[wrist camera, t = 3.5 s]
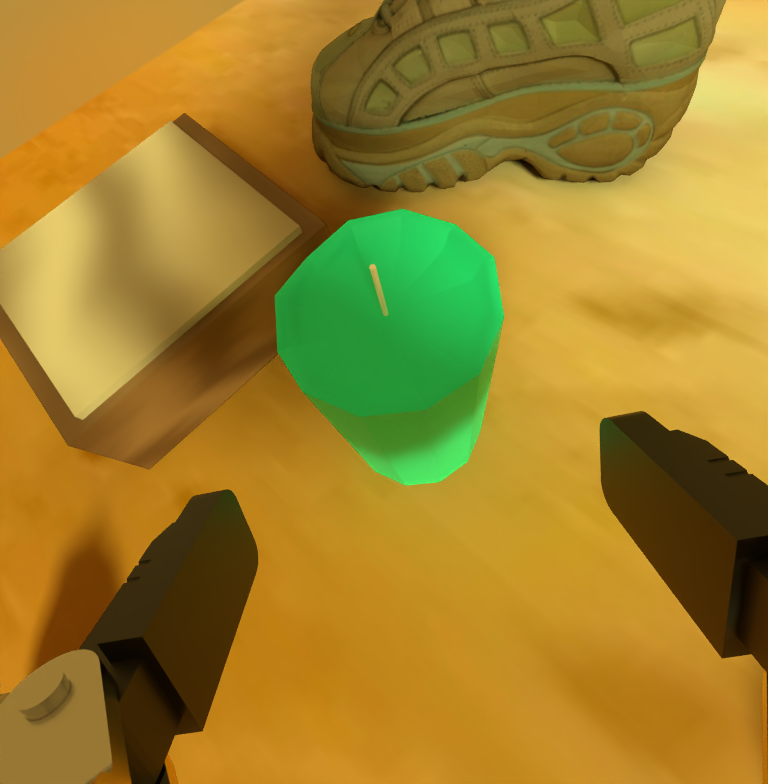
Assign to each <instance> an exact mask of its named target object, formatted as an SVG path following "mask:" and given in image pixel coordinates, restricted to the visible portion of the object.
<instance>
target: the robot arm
mask: <svg viewBox="0 0 768 784" xmlns="http://www.w3.org/2000/svg"><path fill="white" fill-rule="evenodd" d="M600 460H601V484H602V489H603V493H604V496H605V499H606V501H607V504H608V506H609V507H610V509H611V511H612V512H613V514H614V515H615V516H616V518H617V519H618V520H619V522H620V523H621V524H622V526H623V527H624V528H625V530H626V531H627V532H628V534H629V535H630V536H631V538H632V539H633V540H634V542H635V543H636V544H637V546H638V547H639V548H640V550H641V551H642V552H643V554H644V555H645V556H646V558H647V559H648V560H649V562H650V563H651V564H652V566H653V567H654V568H655V570H656V571H657V572H658V574H659V575H660V576H661V578H662V579H663V580H664V582H665V583H666V584H667V586H668V587H669V588H670V590H671V591H672V592H673V594H674V595H675V596H676V598H677V599H678V600H679V602H680V603H681V604H682V606H683V607H684V608H685V610H686V611H687V612H688V614H689V615H690V616H691V618H692V619H693V620H694V622H695V623H696V624H697V626H698V627H699V628H700V630H701V631H702V632H703V634H704V635H705V636H706V638H707V639H708V640H709V642H710V643H711V644H712V646H713V647H714V648H715V650H716V651H717V652H718V654H719V655H720V656H721V658H728V657H735V656H742V655H749V654H752V655H753V656H754V658H755V659H756V660H757V661H758V662H759V664H760V665H761V666H762V667H763V668H764V675H763V682H762V723H763V784H768V485H766V484H765V483H764V482H762V481H761V480H760V479H758V478H757V477H756V476H754V475H753V474H748V473H747V470H746V469H745V468H743V467H742V466H740V465H739V464H738V463H736V462H735V461H734V460H729V458H728V456H727V455H725V454H724V453H723V452H721V451H720V450H719V449H717V448H716V447H714V446H713V445H712V444H710V443H709V442H708V441H706V440H703V439H701V438H698V437H695V436H693V435H690V434H688V433H685V432H682V431H680V430H673V431H669V430H668V429H666V428H665V427H664V426H663V425H661V424H660V423H659V422H658V421H656V420H655V419H654V418H652V417H651V416H650V415H649V414H647V413H646V412H643V411H639V412H634V413H629V414H624V415H618V416H613V417H608V418H604V419H602V421H601V423H600ZM257 567H258V551H257V546H256V543H255V540H254V538H253V535H252V533H251V531H250V528H249V526H248V524H247V521H246V519H245V517H244V515H243V512H242V510H241V508H240V505H239V503H238V501H237V498H236V496H235V495H234V493H233V492H232V491H230V490H222V491H217V492H211V493H206V494H201V495H196V496H193V497H192V498H191V499H190V501H189V502H188V504H187V505H186V507H185V508H184V510H183V511H182V513H181V515H180V516H179V518H178V519H177V521H176V522H175V523H172V524H171V525H170V526H169V527H168V528H167V529H165V530H164V531H163V532H162V533H161V534H160V535H159V536H158V537H157V538H156V539H154V540H153V541H152V543H151V544H150V546H149V547H148V548H147V550H146V551H145V553H144V554H143V556H142V557H141V559H140V560H139V565H138V566H135V568H134V569H133V571H132V572H131V574H130V575H129V576H128V578H127V583H124V584H123V585H122V587H121V588H120V590H119V591H118V593H117V594H116V596H115V597H114V599H113V600H112V602H111V603H110V604H109V606H108V607H107V609H106V610H105V612H104V613H103V615H102V616H101V618H100V619H99V621H98V622H97V624H96V625H95V627H94V628H93V630H92V631H91V633H90V634H89V635H88V637H87V638H86V640H85V641H84V643H83V644H82V646H81V647H80V649H79V650H75V651H71V652H68V653H65V654H62V655H60V656H58V657H56V658H54V659H52V660H50V661H49V662H47V663H45V664H44V665H42V666H41V667H39V668H38V669H36V670H35V671H34V672H32V673H31V674H30V675H28V676H27V677H26V678H25V679H24V680H23V681H22V682H20V683H19V684H18V685H17V686H16V687H15V688H14V689H13V690H12V691H11V693H10V694H9V695H8V696H7V697H6V698H5V699H4V701H3V702H2V703H1V705H0V784H178V780H177V776H176V772H175V768H174V765H173V762H172V760H171V759H170V757H169V756H168V751H169V749H170V746H171V744H172V741H173V739H174V736H175V735H180V734H186V733H193V732H200V731H203V728H204V725H205V722H206V719H207V716H208V713H209V711H210V708H211V705H212V702H213V699H214V696H215V693H216V690H217V687H218V684H219V681H220V678H221V675H222V672H223V669H224V666H225V663H226V660H227V657H228V655H229V652H230V649H231V646H232V643H233V640H234V637H235V634H236V631H237V628H238V625H239V622H240V619H241V616H242V613H243V610H244V607H245V604H246V601H247V598H248V596H249V593H250V590H251V587H252V584H253V581H254V578H255V575H256V572H257Z"/></svg>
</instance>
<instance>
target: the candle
mask: <svg viewBox="0 0 768 784" xmlns="http://www.w3.org/2000/svg"><path fill="white" fill-rule="evenodd" d="M275 313H276V333H277V352H278V354H279V355H280V357H281V358H282V360H283V362H284V363H285V365H286V366H287V368H288V369H289V371H290V373H291V374H292V376H293V377H294V379H295V381H296V382H297V384H298V385H299V387H300V389H301V390H302V392H303V393H304V394H305V395H306V396H307V397H308V398H309V399H310V400H311V402H312V403H313V404H314V405H315V406H316V407H317V408H318V409H319V410H320V411H321V413H322V414H323V415H324V416H325V417H326V418H327V419H328V420H329V421H330V422H331V423H332V425H333V426H334V427H335V428H336V429H337V430H338V431H339V432H340V433H341V434H342V436H343V437H344V438H345V439H346V440H347V441H348V442H349V443H350V444H351V445H352V447H353V448H354V449H355V450H356V451H357V452H358V453H359V454H360V455H361V456H362V457H363V459H364V460H365V461H366V462H367V463H368V464H369V465H370V466H371V467H372V468H373V470H374V471H375V472H378V473H380V474H382V475H384V476H386V477H388V478H391V479H393V480H395V481H397V482H399V483H401V484H404V485H415V484H425V483H435V482H441V481H442V480H443V479H445V478H446V477H447V476H449V475H450V474H452V473H453V472H454V471H456V470H457V469H458V468H460V467H461V466H462V465H464V464H465V463H467V462H468V459H469V457H470V455H471V452H472V450H473V448H474V445H475V443H476V440H477V438H478V436H479V433H480V430H481V425H482V421H483V416H484V411H485V406H486V401H487V397H488V392H489V387H490V382H491V377H492V372H493V368H494V363H495V358H496V353H497V348H498V343H499V339H500V334H501V329H502V324H503V319H504V313H503V307H502V301H501V295H500V288H499V282H498V276H497V270H496V264H495V258H494V256H492V255H491V254H490V253H489V252H488V251H486V250H485V249H484V248H483V247H482V246H481V245H479V244H478V243H477V242H476V241H475V240H474V239H472V238H471V237H470V236H469V235H468V234H466V233H465V232H464V231H463V230H462V229H461V228H459V227H458V226H457V225H456V224H452V223H449V222H446V221H442V220H439V219H436V218H432V217H429V216H426V215H422V214H419V213H415V212H412V211H409V210H405V209H399V210H395V211H390V212H385V213H381V214H376V215H371V216H366V217H362V218H357V219H352V220H348V221H347V222H346V223H345V224H344V225H343V226H341V227H340V228H339V229H338V230H337V231H336V232H335V233H334V234H332V235H331V236H330V237H329V238H328V239H327V240H326V241H325V242H324V243H322V244H321V245H320V246H319V247H318V248H317V249H316V250H315V251H314V252H312V253H311V254H310V255H309V256H308V257H307V258H306V259H305V260H304V261H303V262H302V264H301V265H300V266H299V267H298V268H297V270H296V271H295V272H294V273H293V274H292V276H291V277H290V278H289V279H288V280H287V282H286V283H285V284H284V285H283V286H282V288H281V289H280V290H279V291H278V292H277V294H276V295H275Z"/></svg>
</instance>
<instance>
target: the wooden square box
mask: <svg viewBox="0 0 768 784" xmlns="http://www.w3.org/2000/svg"><path fill="white" fill-rule="evenodd" d="M330 236H331V235H330V232H329V230H328V227H327V224H326V223H325V222H323V221H322V220H321V219H320V218H318V217H317V216H316V215H314V214H313V213H312V212H311V211H309V210H308V209H307V208H306V207H304V206H303V205H302V204H300V203H299V202H298V201H297V200H295V199H294V198H293V197H292V196H290V195H289V194H288V193H286V192H285V191H284V190H283V189H281V188H280V187H279V186H277V185H276V184H275V183H274V182H272V181H271V180H270V179H269V178H267V177H266V176H265V175H263V174H262V173H261V172H260V171H258V170H257V169H256V168H254V167H253V166H252V165H251V164H249V163H248V162H247V161H246V160H244V159H243V158H242V157H240V156H239V155H238V154H237V153H235V152H234V151H233V150H232V149H230V148H229V147H228V146H226V145H225V144H224V143H223V142H221V141H220V140H219V139H217V138H216V137H215V136H214V135H212V134H211V133H210V132H209V131H207V130H206V129H205V128H203V127H202V126H201V125H200V124H198V123H197V122H196V121H194V120H193V119H192V118H191V117H189V116H188V115H187V114H186V113H184V114H182V115H181V116H180V117H179V118H177V119H176V120H175V121H173V122H171V121H170V122H168V123H167V124H166V125H164V126H163V127H162V128H160V129H159V130H158V131H156V132H155V133H154V134H152V135H151V136H150V137H148V138H147V139H146V140H145V141H143V142H142V143H141V144H139V145H138V146H137V147H135V148H134V149H133V150H131V151H130V152H129V153H127V154H126V155H125V156H123V157H122V158H121V159H119V160H118V161H117V162H115V163H114V164H113V165H112V166H110V167H109V168H108V169H106V170H105V171H104V172H102V173H101V174H100V175H98V176H97V177H96V178H94V179H93V180H92V181H90V182H89V183H88V184H86V185H85V186H84V187H82V188H81V189H80V190H79V191H77V192H76V193H75V194H73V195H72V196H71V197H69V198H68V199H67V200H65V201H64V202H63V203H61V204H60V205H59V206H57V207H56V208H55V209H53V210H52V211H51V212H50V213H48V214H47V215H46V216H44V217H43V218H42V219H40V220H39V221H38V222H36V223H35V224H34V225H32V226H31V227H30V228H28V229H27V230H26V231H24V232H23V233H22V234H20V235H19V236H18V237H17V238H15V239H14V240H13V241H11V242H10V243H9V244H7V245H6V246H5V247H3V248H2V249H1V250H0V339H1V340H2V342H3V343H4V345H5V347H6V348H7V350H8V351H9V353H10V355H11V356H12V358H13V359H14V361H15V362H16V364H17V366H18V367H19V369H20V370H21V372H22V374H23V375H24V377H25V378H26V380H27V381H28V383H29V385H30V386H31V388H32V389H33V391H34V393H35V394H36V396H37V397H38V399H39V401H40V402H41V404H42V405H43V407H44V408H45V410H46V412H47V413H48V415H49V416H50V418H51V420H52V421H53V423H54V424H55V426H56V427H57V429H58V431H59V432H60V434H61V435H62V437H63V439H64V440H65V442H66V443H67V445H68V446H71V447H74V448H78V449H81V450H85V451H88V452H92V453H95V454H98V455H102V456H105V457H109V458H112V459H115V460H119V461H122V462H126V463H129V464H133V465H136V466H139V467H143V468H146V469H150V468H151V467H153V466H154V465H155V464H156V463H157V462H158V461H159V460H160V459H161V458H163V457H164V456H165V455H166V454H167V453H168V452H169V451H170V450H171V449H173V448H174V447H175V446H176V445H177V444H178V443H179V442H180V441H181V440H183V439H184V438H185V437H186V436H187V435H188V434H189V433H190V432H191V431H193V430H194V429H195V428H196V427H197V426H198V425H199V424H200V423H202V422H203V421H204V420H205V419H206V418H207V417H208V416H209V415H210V414H212V413H213V412H214V411H215V410H216V409H217V408H218V407H219V406H220V405H222V404H223V403H224V402H225V401H226V400H227V399H228V398H229V397H230V396H232V395H233V394H234V393H235V392H236V391H237V390H238V389H239V388H240V387H242V386H243V385H244V384H245V383H246V382H247V381H248V380H249V379H250V378H252V377H253V376H254V375H255V374H256V373H257V372H258V371H259V370H260V369H262V368H263V367H264V366H265V365H266V364H267V363H268V362H269V361H270V360H272V359H273V358H274V357H275V356H276V355H277V354H278V352H277V333H276V313H275V295H276V294H277V292H278V291H279V290H280V289H281V288H282V286H283V285H284V284H285V283H286V282H287V280H288V279H289V278H290V277H291V276H292V274H293V273H294V272H295V271H296V270H297V268H298V267H299V266H300V265H301V264H302V262H303V261H304V260H305V259H306V258H307V257H308V256H309V255H310V254H311V253H312V252H314V251H315V250H316V249H317V248H318V247H319V246H320V245H321V244H322V243H324V242H325V241H326V240H327V239H328V238H329V237H330Z"/></svg>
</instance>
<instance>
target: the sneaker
mask: <svg viewBox="0 0 768 784" xmlns="http://www.w3.org/2000/svg"><path fill="white" fill-rule="evenodd" d="M725 2H726V0H384V1H383V3H382V5H381V6H380V8H379V9H378V11H377V13H376V14H375V16H374V17H371V18H368V19H365V20H363V21H361V22H360V23H358V24H357V25H355V26H354V27H352V28H350V29H349V30H347V31H346V32H344V33H343V34H341V35H340V36H338V37H337V38H336V39H335V40H333V41H332V42H331V43H330V44H329V45H327V46H326V47H325V48H324V49H322V51H321V52H320V54H319V55H318V57H317V59H316V61H315V62H314V64H313V68H312V75H311V95H312V110H313V119H312V139H313V144H314V148H315V151H316V153H317V155H318V156H319V158H320V159H321V160H322V161H324V162H326V163H328V165H329V168H330V170H331V171H332V172H333V173H335V174H336V175H337V176H339V177H340V178H342V179H343V180H345V181H348V182H350V183H352V184H355V185H357V186H360V187H363V188H367V187H369V186H371V185H376V186H377V187H378V188H379V189H380V190H382V191H390V192H396V191H397V190H398V189H399V187H400V186H402V187H404V188H406V189H407V190H408V191H413V192H423V191H424V190H425V189H426V188H427V187H428V186H429V185H430V184H431V183H432V184H433V185H435V186H437V187H439V188H442V189H446V188H451V187H454V186H455V184H456V182H457V181H458V179H460V180H462V181H464V182H466V181H472V180H477V179H479V178H481V177H482V176H483V175H484V174H485V173H487V172H488V171H490V170H491V169H493V168H494V167H496V166H497V165H499V164H500V163H502V162H503V161H509V160H519V159H523V160H525V161H526V162H528V163H530V164H531V165H532V166H533V167H534V168H535V169H536V170H537V171H538V173H539V174H540V175H541V176H542V177H543V178H546V179H550V180H557V179H565V180H568V181H571V182H583V183H584V182H586V181H587V180H589V179H591V178H592V177H593V178H594V179H595V180H597V181H598V182H612V181H613V180H615V179H616V178H617V177H619V176H620V175H629V176H630V175H631V174H633V173H635V172H636V171H638V170H639V169H641V168H642V167H643V166H644V164H645V162H646V160H647V159H649V158H651V157H653V156H654V155H656V154H657V153H658V152H659V151H660V150H661V149H662V148H663V146H664V145H665V144H666V142H667V141H668V140H669V138H670V137H671V134H672V131H673V128H674V127H675V126H676V124H677V123H678V122H679V121H680V120H681V118H682V117H683V115H684V114H685V112H686V110H687V108H688V105H689V103H690V100H691V98H692V95H693V93H694V90H695V88H696V84H697V78H698V71H699V67H700V66H701V64H702V62H703V61H704V59H705V57H706V53H707V50H708V47H709V46H710V44H711V43H712V41H713V38H714V34H715V26H716V24H717V22H718V19H719V17H720V15H721V12H722V10H723V7H724V4H725Z"/></svg>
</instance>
